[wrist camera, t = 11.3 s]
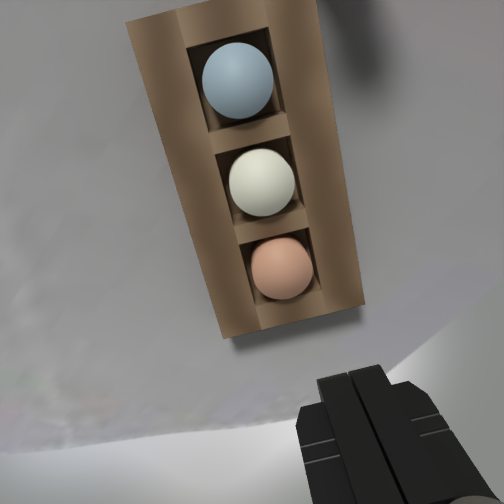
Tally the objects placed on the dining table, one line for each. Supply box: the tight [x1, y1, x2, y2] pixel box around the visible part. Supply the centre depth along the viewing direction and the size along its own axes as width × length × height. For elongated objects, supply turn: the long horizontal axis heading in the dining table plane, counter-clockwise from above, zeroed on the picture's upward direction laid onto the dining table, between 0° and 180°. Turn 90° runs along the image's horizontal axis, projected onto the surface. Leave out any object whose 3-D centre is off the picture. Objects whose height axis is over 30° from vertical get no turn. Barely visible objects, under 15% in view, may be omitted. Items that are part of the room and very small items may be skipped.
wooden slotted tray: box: [125, 0, 365, 339], centre depth 34 cm, size 12×24×4 cm, turn 14°
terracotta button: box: [250, 233, 313, 300], centre depth 36 cm, size 5×5×3 cm
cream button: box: [229, 146, 295, 216], centre depth 33 cm, size 5×5×3 cm
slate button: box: [202, 43, 273, 119], centre depth 30 cm, size 5×5×3 cm
